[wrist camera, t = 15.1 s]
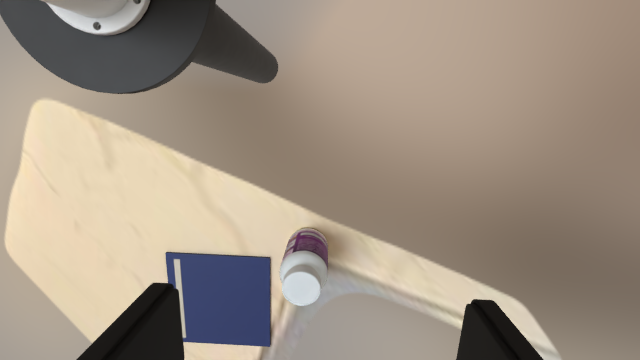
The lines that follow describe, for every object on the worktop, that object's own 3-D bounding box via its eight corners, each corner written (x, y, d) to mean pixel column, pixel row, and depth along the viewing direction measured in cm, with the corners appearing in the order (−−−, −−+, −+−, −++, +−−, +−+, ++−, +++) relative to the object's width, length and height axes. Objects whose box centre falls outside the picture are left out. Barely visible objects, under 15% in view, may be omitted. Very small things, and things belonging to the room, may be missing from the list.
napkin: (166, 252, 41) (165, 253, 40) (270, 257, 41) (269, 258, 40) (174, 339, 44) (173, 341, 44) (270, 345, 44) (269, 347, 44)
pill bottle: (289, 224, 39) (276, 262, 30) (329, 228, 39) (330, 267, 30) (286, 262, 41) (273, 309, 31) (325, 266, 41) (324, 314, 31)
